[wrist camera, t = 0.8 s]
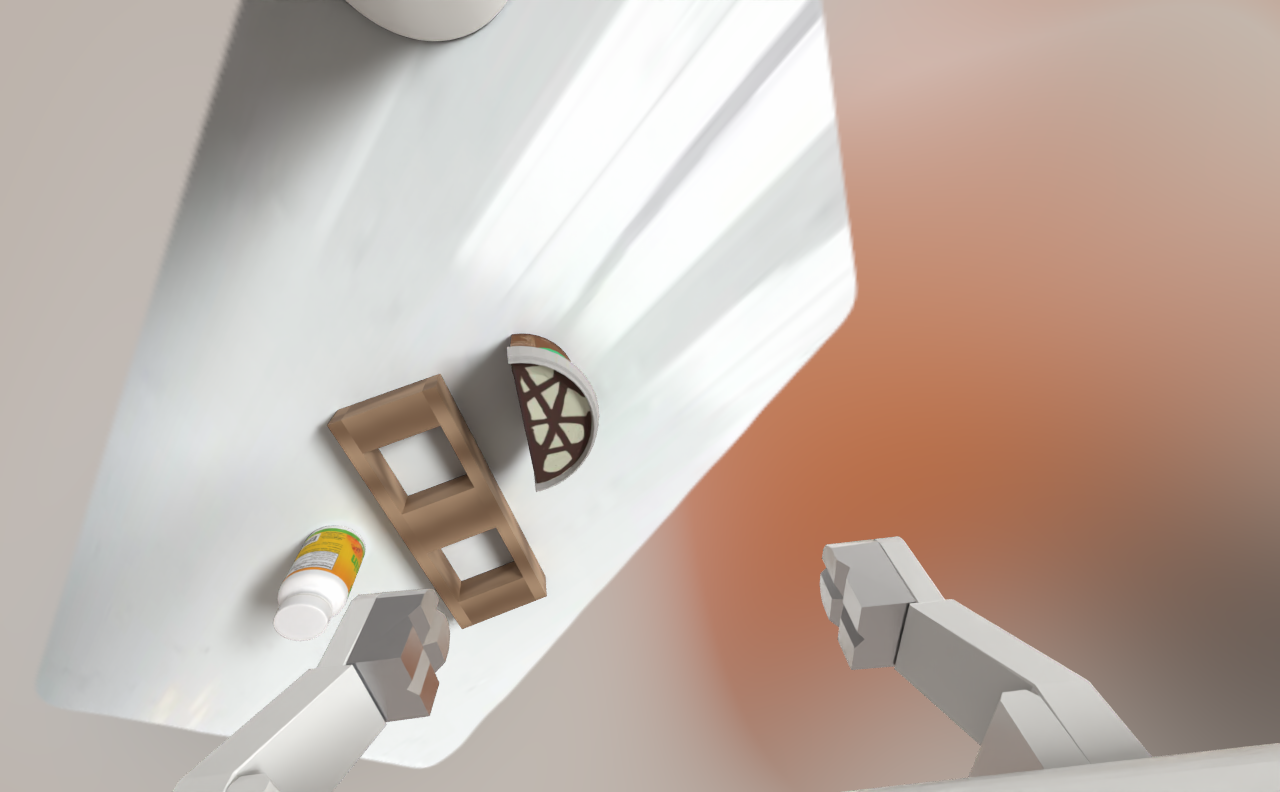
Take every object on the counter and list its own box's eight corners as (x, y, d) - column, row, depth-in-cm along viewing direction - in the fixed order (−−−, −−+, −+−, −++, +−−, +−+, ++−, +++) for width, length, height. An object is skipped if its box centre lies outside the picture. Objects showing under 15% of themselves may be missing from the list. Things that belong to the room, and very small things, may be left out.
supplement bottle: (365, 569, 54) (336, 647, 45) (305, 566, 52) (263, 647, 43) (368, 525, 52) (338, 599, 43) (306, 521, 50) (262, 597, 42)
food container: (595, 428, 53) (611, 482, 44) (533, 439, 52) (537, 497, 43) (577, 308, 47) (591, 342, 38) (508, 318, 46) (506, 356, 38)
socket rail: (337, 410, 47) (327, 425, 44) (440, 373, 47) (435, 386, 44) (464, 607, 58) (461, 629, 55) (545, 576, 59) (546, 596, 56)
